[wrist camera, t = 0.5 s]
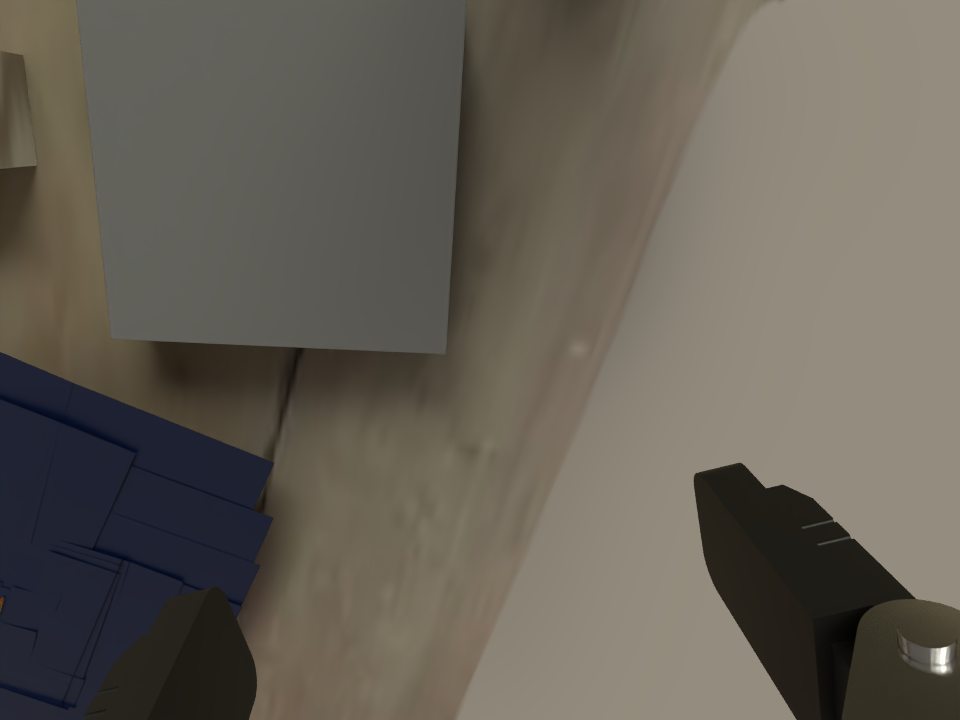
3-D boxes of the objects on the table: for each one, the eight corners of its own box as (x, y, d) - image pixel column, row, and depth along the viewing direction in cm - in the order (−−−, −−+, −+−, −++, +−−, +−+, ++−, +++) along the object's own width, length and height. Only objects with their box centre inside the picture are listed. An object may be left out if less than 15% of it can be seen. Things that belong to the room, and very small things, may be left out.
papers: (318, 448, 38) (304, 487, 35) (159, 763, 49) (137, 815, 46) (-147, 252, 33) (-215, 275, 30) (-210, 651, 44) (-264, 701, 41)
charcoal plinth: (114, -20, 31) (72, -40, 28) (462, 12, 33) (466, -4, 29) (144, 317, 36) (111, 339, 33) (444, 331, 38) (446, 354, 34)
